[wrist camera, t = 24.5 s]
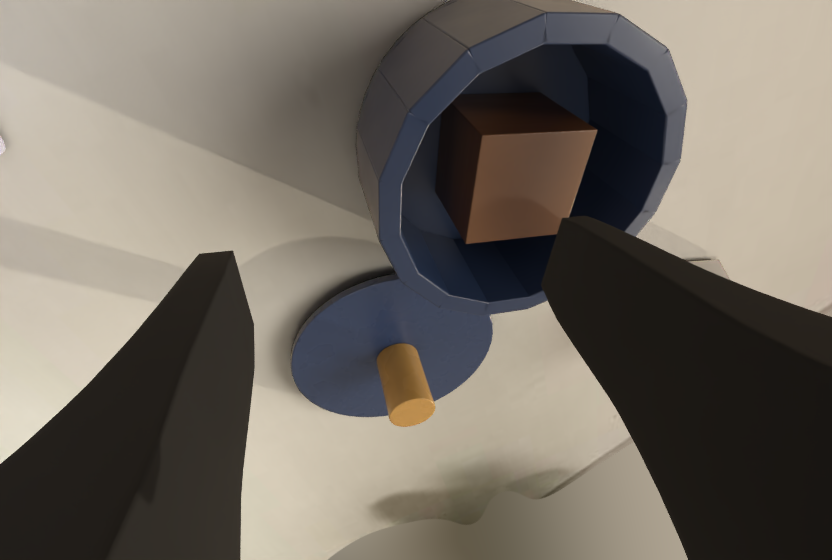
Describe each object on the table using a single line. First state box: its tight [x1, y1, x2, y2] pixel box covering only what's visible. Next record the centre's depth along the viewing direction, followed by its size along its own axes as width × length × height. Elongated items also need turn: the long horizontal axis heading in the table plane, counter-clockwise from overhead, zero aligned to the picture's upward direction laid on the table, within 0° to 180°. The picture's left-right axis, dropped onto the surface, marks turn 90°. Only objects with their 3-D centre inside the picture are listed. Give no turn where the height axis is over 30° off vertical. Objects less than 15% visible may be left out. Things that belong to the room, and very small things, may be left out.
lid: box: [291, 274, 493, 427], centre depth 25 cm, size 13×13×5 cm
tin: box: [356, 0, 687, 316], centre depth 17 cm, size 12×12×5 cm
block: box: [435, 92, 597, 244], centre depth 17 cm, size 4×4×4 cm
